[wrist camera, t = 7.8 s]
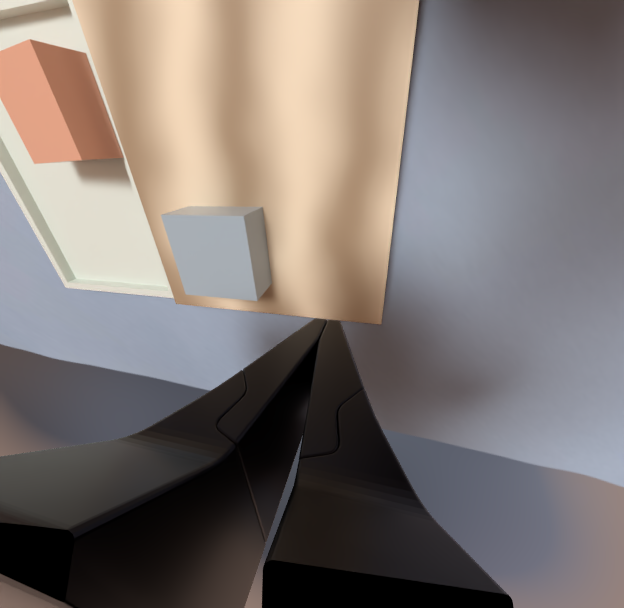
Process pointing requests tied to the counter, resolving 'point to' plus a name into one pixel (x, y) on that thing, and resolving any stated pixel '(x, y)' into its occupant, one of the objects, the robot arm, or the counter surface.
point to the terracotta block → (55, 104)
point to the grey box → (220, 250)
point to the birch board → (267, 131)
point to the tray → (77, 182)
